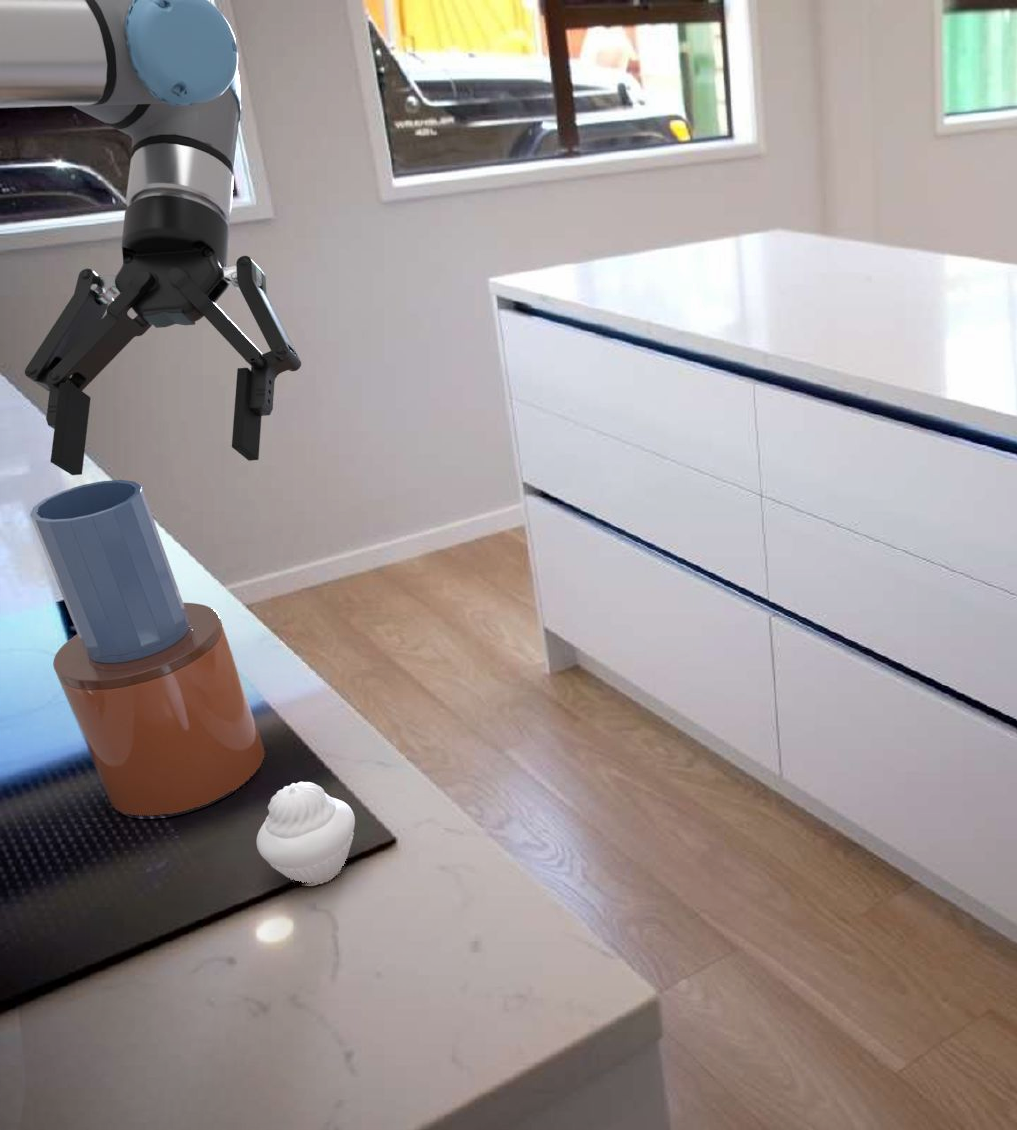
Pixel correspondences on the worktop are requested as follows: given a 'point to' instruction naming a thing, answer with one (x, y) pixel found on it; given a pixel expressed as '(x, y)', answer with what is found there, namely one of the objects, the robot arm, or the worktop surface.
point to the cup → (111, 570)
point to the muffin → (306, 833)
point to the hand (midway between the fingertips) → (155, 461)
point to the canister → (165, 720)
